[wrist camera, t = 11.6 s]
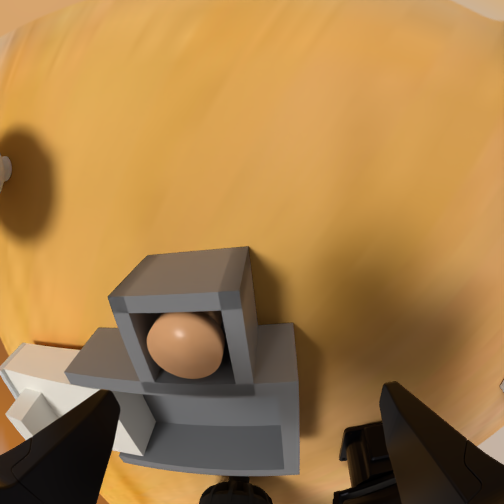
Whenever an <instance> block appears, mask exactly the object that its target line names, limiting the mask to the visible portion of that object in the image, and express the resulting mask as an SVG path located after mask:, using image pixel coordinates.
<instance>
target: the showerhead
mask: <svg viewBox="0 0 504 504" xmlns="http://www.w3.org/2000/svg"><path fill="white" fill-rule="evenodd" d="M11 172H12V165H11V161H10V159H9V158H8V157H6V156H3V157H2V156H1V154H0V193H1V190H2V187H3V182H5V181H7V180H8V179H9V178H10V176H11Z"/></svg>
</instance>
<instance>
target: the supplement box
mask: <svg viewBox="0 0 504 504" xmlns="http://www.w3.org/2000/svg"><path fill="white" fill-rule="evenodd" d="M500 388H501V389H502V391H503V392H504V380H503V382H502V383H501V385H500Z"/></svg>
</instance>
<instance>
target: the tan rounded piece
mask: <svg viewBox="0 0 504 504" xmlns="http://www.w3.org/2000/svg"><path fill="white" fill-rule="evenodd" d="M222 320H223V317H222V312H221V310H218V311H196V312H167V313H161V314H160V315H159V316H158V318H157V319H156V321H155V323H154V324H153V326H152V328H151V329H150V331H149V333H148V336H147V347H148V351H149V353H150V355H151V357H152V358H153V360H154V361H155V362H156V363H157V364H158V365H159V366H160V367H161V368H163V369H164V370H165V371H167V372H169V373H171V374H173V375H175V376H178V377H182V378H187V379H198V378H203V377H206V376H209V375H211V374H212V373H214V372H215V371H216V370H217V369H218V367H219V366H220V364H221V361H222V356H223V352H224V347H225V337H224V333H223V331H222V329H221V323H222Z"/></svg>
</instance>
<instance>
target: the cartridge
mask: <svg viewBox="0 0 504 504" xmlns="http://www.w3.org/2000/svg"><path fill="white" fill-rule="evenodd" d="M79 351H80V350H75V349H66V348H57V347H49V346H42V345H35V344H28V343H22V344H21V345H20V346H19V347H18V348H17V349H16V350H15V351H14V352H13V353H12V354H11V355H10V356H9V357H8V358H7V360H6V361H5V362H4V363H3V364H2V365H1V366H0V375H1V377H2V378H3V380H4V382H5V384H6V385H7V387H8V388H9V390H10V391H11V393H12V394H13V396H14V397H15V399H16V401H15V402H14V403H13V405H12V406H11V407H10V409H9V410H8V411H7V413H6V416H7V417H8V419H9V420H10V421H11V422H12V424H13V425H14V426H15V427H16V429H17V430H18V431H19V432H20V434H21V435H22V436H23V437H24V438H25V440H27V439H29V438H30V437H33V435H35V434H36V433H38V432H39V431H41V430H42V429H44V428H45V427H47V426H48V425H50V424H51V423H52V422H54V421H55V420H57V419H58V418H60V417H61V416H63V415H64V414H66V413H67V412H68V411H70V410H71V409H73V408H74V407H76V406H77V405H78V404H80V403H81V402H83V401H84V400H86V399H87V398H89V397H90V396H91V395H93V394H94V393H96V392H97V391H98V390H100V389H96V388H90V387H84V386H78V385H73V384H70V382H69V380H68V378H67V377H66V375H65V373H64V371H65V370H66V368H67V367H68V366H69V364H70V363H71V362H72V361H73V359H74V358H75V357H76V355H77V354H78V353H79ZM112 392H113V394H114V396H115V397H116V399H117V401H118V403H119V405H120V416H119V421H118V425H117V430H116V435H115V440H114V445H113V448H112V450H114V451H119V452H123V453H128V454H134V455H139V456H144V453H145V450H146V448H147V445H148V442H149V439H150V436H151V434H152V431H153V428H154V426H155V423H156V421H155V419H154V417H153V415H152V413H151V411H150V409H149V407H148V405H147V403H146V401H145V399H144V397H143V395H142V394H135V393H126V392H118V391H112Z"/></svg>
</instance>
